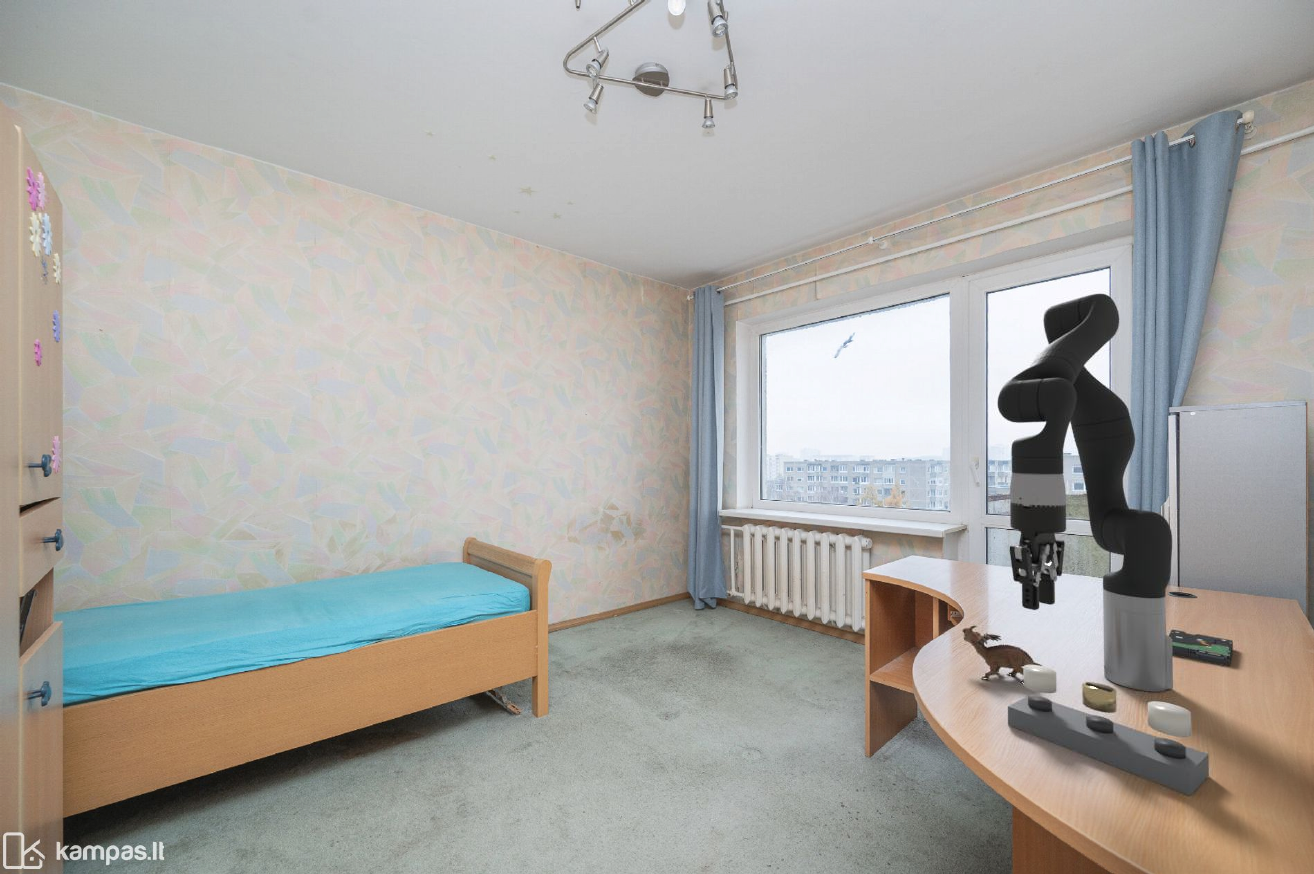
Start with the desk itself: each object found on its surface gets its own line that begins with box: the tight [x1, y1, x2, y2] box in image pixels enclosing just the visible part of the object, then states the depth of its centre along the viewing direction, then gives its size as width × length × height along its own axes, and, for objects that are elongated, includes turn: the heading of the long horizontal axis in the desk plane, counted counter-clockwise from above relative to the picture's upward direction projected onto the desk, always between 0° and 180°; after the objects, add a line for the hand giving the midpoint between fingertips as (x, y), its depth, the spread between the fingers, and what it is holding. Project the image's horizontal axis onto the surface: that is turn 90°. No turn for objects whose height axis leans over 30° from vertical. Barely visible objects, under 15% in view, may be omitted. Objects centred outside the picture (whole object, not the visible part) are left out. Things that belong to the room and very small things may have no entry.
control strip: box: [1007, 694, 1210, 796], centre depth 83 cm, size 22×8×4 cm, turn 33°
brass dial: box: [1081, 681, 1118, 714], centre depth 84 cm, size 4×4×3 cm
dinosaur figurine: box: [962, 625, 1043, 683], centre depth 109 cm, size 14×6×9 cm, turn 67°
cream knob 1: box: [1022, 665, 1057, 694], centre depth 90 cm, size 4×4×3 cm
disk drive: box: [1168, 629, 1234, 667], centre depth 124 cm, size 10×3×15 cm
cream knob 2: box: [1147, 701, 1192, 738], centre depth 77 cm, size 4×4×3 cm
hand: (1038, 605), depth 91 cm, fingers open, 5 cm apart
